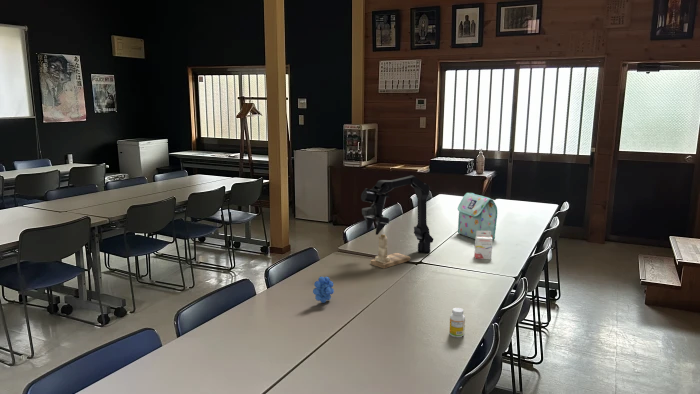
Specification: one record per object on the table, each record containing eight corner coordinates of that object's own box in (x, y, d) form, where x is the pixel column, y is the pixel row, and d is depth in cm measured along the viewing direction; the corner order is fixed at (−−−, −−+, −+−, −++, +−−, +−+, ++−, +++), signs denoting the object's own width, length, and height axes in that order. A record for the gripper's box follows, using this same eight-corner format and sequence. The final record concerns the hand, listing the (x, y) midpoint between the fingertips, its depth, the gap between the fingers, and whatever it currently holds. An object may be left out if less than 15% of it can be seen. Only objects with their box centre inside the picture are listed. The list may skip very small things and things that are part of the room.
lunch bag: (454, 233, 326) (455, 192, 321) (474, 230, 333) (476, 190, 328) (477, 242, 306) (479, 198, 301) (498, 239, 313) (501, 196, 308)
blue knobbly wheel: (321, 309, 208) (320, 281, 206) (309, 305, 213) (309, 278, 211) (340, 301, 217) (340, 274, 215) (329, 297, 221) (329, 271, 219)
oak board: (396, 256, 279) (396, 252, 279) (410, 260, 272) (410, 256, 272) (370, 263, 266) (370, 260, 266) (384, 268, 259) (384, 264, 259)
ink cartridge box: (475, 258, 275) (476, 232, 272) (474, 256, 280) (475, 230, 277) (491, 259, 274) (493, 233, 271) (490, 256, 279) (491, 230, 276)
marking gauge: (381, 258, 269) (382, 232, 266) (390, 261, 264) (390, 235, 262) (375, 260, 265) (375, 234, 263) (383, 263, 261) (383, 236, 258)
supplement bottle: (453, 329, 190) (454, 305, 189) (466, 334, 187) (468, 309, 185) (446, 334, 186) (447, 310, 184) (459, 339, 183) (461, 314, 181)
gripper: (357, 198, 272) (351, 226, 273) (375, 204, 256) (368, 234, 257) (374, 201, 278) (368, 229, 279) (393, 208, 261) (386, 237, 263)
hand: (372, 232), depth 269 cm, fingers open, 9 cm apart
